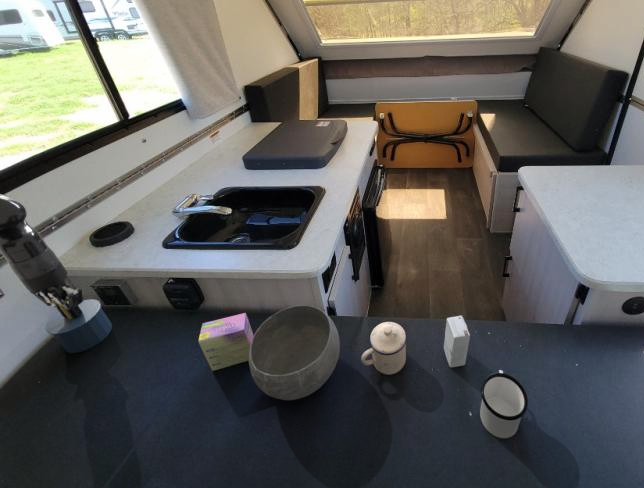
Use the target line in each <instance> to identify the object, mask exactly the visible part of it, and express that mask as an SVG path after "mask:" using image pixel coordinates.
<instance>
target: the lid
mask: <svg viewBox="0 0 644 488" xmlns="http://www.w3.org/2000/svg"><path fill="white" fill-rule="evenodd" d="M67 304H69V302H67ZM78 306H79V308H80V309H81V310H82V312H83V313H82V315H80V316H79V317H78V318H77V319H73V318H72V317H71V316H70V314H69V313H68V312H67V310H66V309H65V308H64V307H63V305H59V307H60V308H61V309H62V311H63V312H64V313H65V315H66V316H67V318H65V317H63V316H62V315H61V313H60V312H59V311H57V312H56V313H55V314H53V316H51V317H50V318H49V320H48V321H47V323H46V325H45V331H46V332H47V334H49V335H51V336H54V335H62V334H66V333H69V332H72V331H75V330H77V329H79V328H81V327H83V326H84V325H86V324H87V323H89V322H90V321H91V320H93V319H94V318H95V317H96V316H97V315H98V313H99V312H100V310H101V309H102V303H101V302H100V300H97V299H95V298H94V299H93V298H89V299H83V302H82V303H80V304H79V305H78Z"/></svg>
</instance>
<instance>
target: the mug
mask: <svg viewBox="0 0 644 488" xmlns="http://www.w3.org/2000/svg"><path fill="white" fill-rule="evenodd" d="M480 396H481V402H480V407H479V416H480V420H481V423H482V426H483V427H484V428H485V429H486V431H487V432H489V434H491V435H492V436H494V437H496V438H499V439H509V438H512V437H513V436H514V435H516V433H517V432H518V430H519V428H520V427H519V425H520V423H521V419H522V417H524V415H525V414H526V412H527V409H528V405H529V399H528V394H527V391H526V389H525V388H524V386H523V385H522V383H520V381H519V380H517V379H516V378H515V377H513V376H512V375H510V374H508V373H504V371H503V370H502V369H499V370H498V372H493V373H491V374H489V375H488V376H486V377H485V378H484V379H483V381H482V384H481V387H480Z"/></svg>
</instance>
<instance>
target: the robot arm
mask: <svg viewBox="0 0 644 488" xmlns="http://www.w3.org/2000/svg"><path fill="white" fill-rule="evenodd" d="M27 216H28V214H27V209H26V207H25V206H24V205H23V204H22V203H21V202H20V201H17V200H16V199H14V198H11V197H10V196H8V195H5V194H2V193H0V254H1V255H2V256H3V258H4V259H5V261H7V263H8V265H9V267H10V268H11V270H12V272H13V273H14V274H15V276H16V277H17V279H19V281H20V282H21V283H22V285H23V286H24V287H25V289H27V291H29V292H30V293H31V294H32V295H33V296H35V297H36V298H37V299H39V301H40V302H42V303H44V304H45V306H48V307H51V306H52V308H54V309H55V310H57V312H60V313H61V315H62V316H63V317H65V318H67V316H66V315H65V313H64V312H63V311H62V309H61V308H60V307H59V305H63V307H64V308H65V309H66V310H67V312H68V313H69V314H70V316H71V317H72V318H73V319H77V318H78V317H79V316H80V315H82V313H83V312H82V310H81V309H80V308H79V306H78V305H79V304H80V303H82V302H83V300H84V299H83V290H82V289H81V288H80V287H78V288H76V289H73V288H71V285H70V284H69V283H68V282H67V281H66V278H67V277H68V270H67V269H66V268H65V266H64V265H63V263H62V262H61V260H60V259H59V257H58V256H57V254H56V253H55V252H54V251H53V249H51V248H50V246H48V244H47V242H46V241H45V239H44V238H43V237H42V235H41V234H40V232H38V231H37V230H36V229H35V228H34V227H32V226H31V225H30V224H29V223H28V222H27V220H26V218H27ZM67 302H69V304H67Z"/></svg>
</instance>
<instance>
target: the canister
mask: <svg viewBox="0 0 644 488" xmlns="http://www.w3.org/2000/svg"><path fill="white" fill-rule="evenodd" d="M112 329H113V323H112V322H111V321H110V319H109V318H108V316H107V314H106V313H105V311H104V310H103V309H102V308H101V310H100V312H99V313H98V315H97V316H96V317H95V318H94V319H93V320H91V321H90V322H89V323H87V324H86V325H84V326H83V327H81V328H79V329H77V330H75V331H72V332H69V333H66V334H62V335H53V336H54V338H55V339H56V340H57V342H58V343H59V344H60V346H62V348H63V349H64V351H66V353H70V354H78V353H82V352H84V351H87V350H90V349H92V348H94V347H95V346H97V345H98V344H100V343H102V341H104V339H106V338H107V337H109V334H110V333H111V332H112Z"/></svg>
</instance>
